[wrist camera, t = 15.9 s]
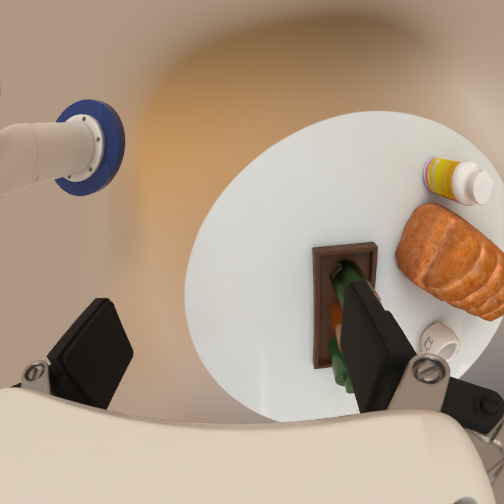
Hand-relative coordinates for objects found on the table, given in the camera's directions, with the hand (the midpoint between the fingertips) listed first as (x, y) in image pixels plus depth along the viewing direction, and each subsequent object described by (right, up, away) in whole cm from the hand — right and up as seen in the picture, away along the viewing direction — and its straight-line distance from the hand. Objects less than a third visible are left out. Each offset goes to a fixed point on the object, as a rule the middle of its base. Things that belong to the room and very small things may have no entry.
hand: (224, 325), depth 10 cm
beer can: (+16, -1, +34) cm, 37 cm away
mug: (+41, -17, +40) cm, 59 cm away
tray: (+17, -8, +37) cm, 42 cm away
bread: (+39, +2, +32) cm, 50 cm away
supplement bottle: (+32, +16, +27) cm, 45 cm away
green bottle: (+18, -15, +39) cm, 46 cm away
